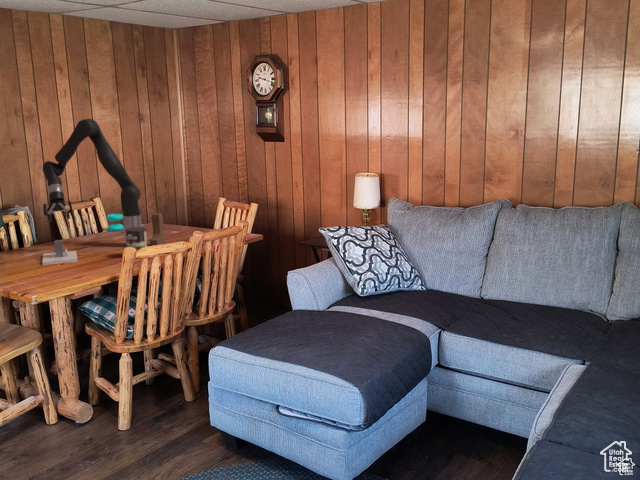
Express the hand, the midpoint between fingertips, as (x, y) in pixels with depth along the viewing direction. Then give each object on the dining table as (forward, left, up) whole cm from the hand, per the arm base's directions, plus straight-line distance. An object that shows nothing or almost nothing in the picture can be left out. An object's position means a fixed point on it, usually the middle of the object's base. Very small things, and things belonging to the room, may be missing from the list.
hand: (59, 220), depth 319 cm
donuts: (+5, -63, -18) cm, 65 cm away
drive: (-8, +13, -16) cm, 22 cm away
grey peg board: (-8, +13, -18) cm, 23 cm away
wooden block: (-44, -23, -18) cm, 52 cm away
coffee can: (-44, -1, -18) cm, 47 cm away
